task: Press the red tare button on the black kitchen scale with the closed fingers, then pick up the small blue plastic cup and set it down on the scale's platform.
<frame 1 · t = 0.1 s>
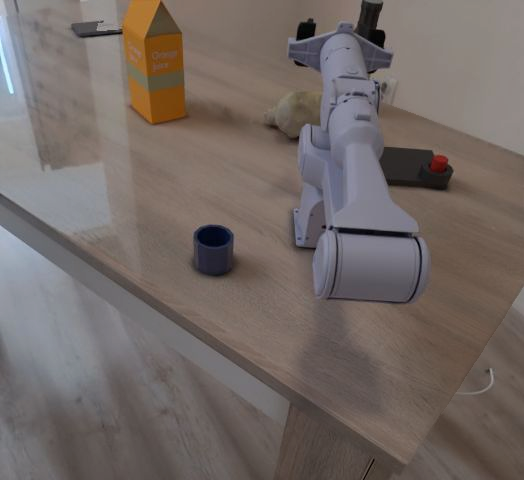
hand: (335, 28, 71), 22 cm above the table, tool horizontal, fingers open, 7 cm apart
scale: (406, 169, 89), on the table
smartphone: (104, 30, 124), on the table
orange juice: (158, 112, 97), on the table
tare button: (439, 163, 84), point 4 cm above the table, slide at 0.1 cm
sauce bottle: (348, 108, 105), on the table
ginger root: (306, 130, 97), on the table
blue plastic cup: (213, 262, 68), on the table
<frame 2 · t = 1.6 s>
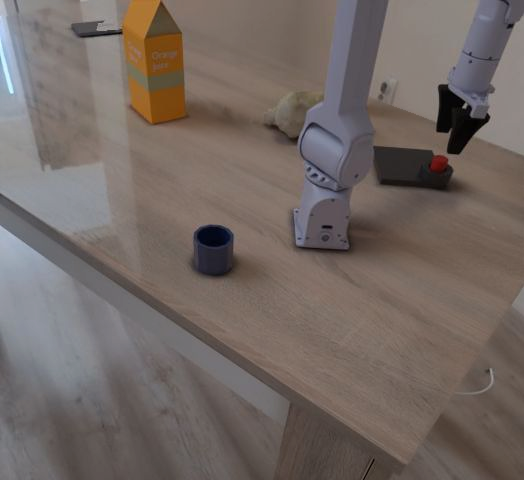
hand: (447, 142, 81), 8 cm above the table, tool pointing down, fingers open, 7 cm apart
nothing on the table moved.
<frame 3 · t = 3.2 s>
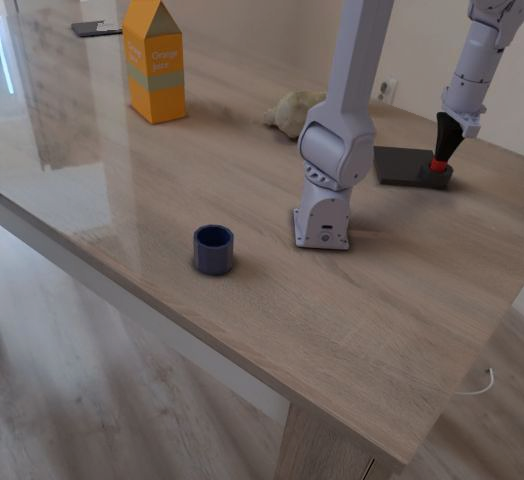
hand: (440, 159, 83), 4 cm above the table, tool pointing down, fingers closed, pressing on tare button
tare button: (438, 164, 84), point 3 cm above the table, slide at 0.0 cm, touching gripper
everything else where it was.
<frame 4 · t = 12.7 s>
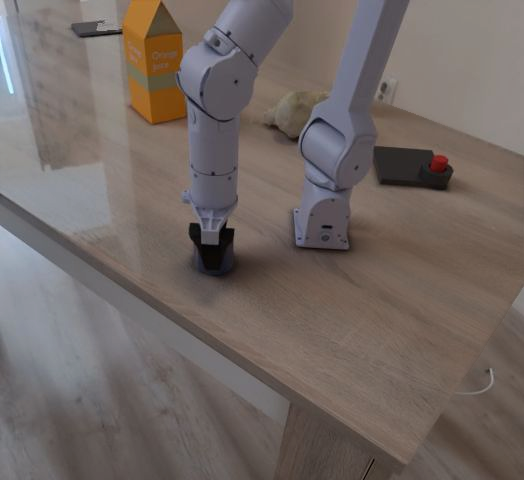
hand: (213, 254, 67), 1 cm above the table, tool pointing down, fingers closed on blue plastic cup, 5 cm apart
tare button: (439, 163, 84), point 4 cm above the table, slide at 0.1 cm
blue plastic cup: (213, 262, 68), on the table, touching gripper
everything else where it was.
when the fingers open (3 cm above the table, at t = 20.0 s): blue plastic cup stays where it is, resting on scale.
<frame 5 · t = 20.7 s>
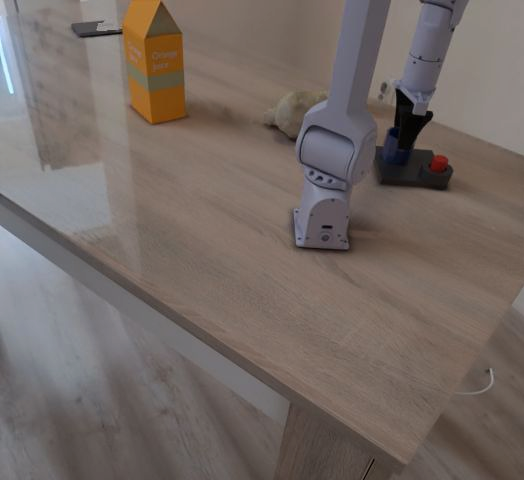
hand: (401, 138, 87), 5 cm above the table, tool pointing down, fingers open, 7 cm apart
blue plastic cup: (394, 157, 89), point 1 cm above the table, touching scale
everything else where it was.
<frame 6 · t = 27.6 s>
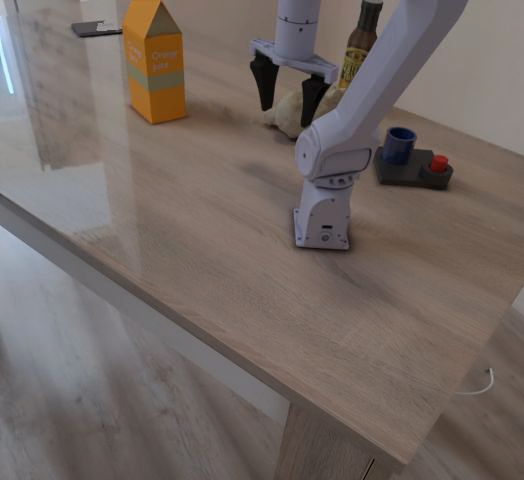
hand: (286, 117, 76), 10 cm above the table, tool pointing down, fingers open, 7 cm apart
nothing on the table moved.
at the end: tare button pushed in 1.2 cm at the most during the clip, back to where it started at the end; tare button slide at 0.1 cm; blue plastic cup inside the target area on the scale (2.3 cm from its centre), point 1.2 cm above the scale's base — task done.
